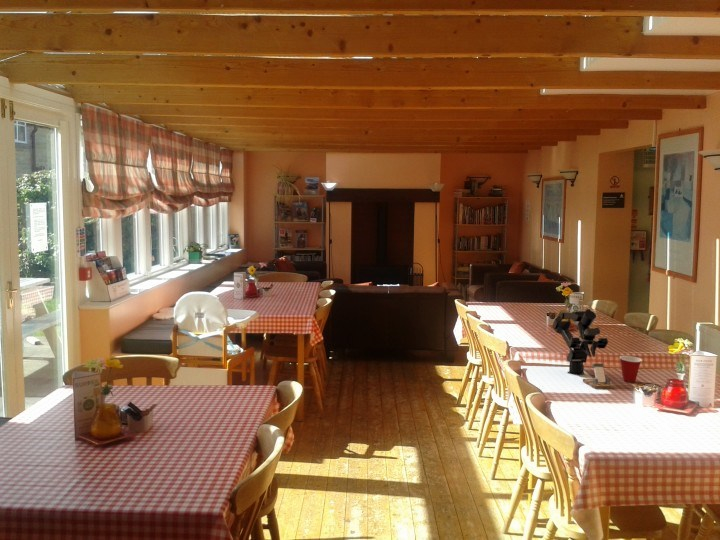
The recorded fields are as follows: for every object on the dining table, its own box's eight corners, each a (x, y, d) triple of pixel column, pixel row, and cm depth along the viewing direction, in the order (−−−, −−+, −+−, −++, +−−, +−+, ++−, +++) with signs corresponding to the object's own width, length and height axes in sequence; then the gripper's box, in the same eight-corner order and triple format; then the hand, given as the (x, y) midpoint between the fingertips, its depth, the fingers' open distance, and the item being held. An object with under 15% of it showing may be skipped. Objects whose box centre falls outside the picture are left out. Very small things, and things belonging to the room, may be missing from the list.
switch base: (582, 381, 357) (583, 373, 357) (600, 381, 358) (600, 373, 357) (594, 388, 342) (595, 380, 341) (613, 389, 342) (613, 380, 342)
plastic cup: (630, 384, 354) (631, 360, 353) (613, 379, 364) (614, 356, 363) (645, 382, 359) (647, 358, 358) (628, 378, 369) (629, 355, 368)
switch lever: (595, 383, 346) (592, 365, 351) (605, 383, 346) (601, 365, 351) (597, 381, 344) (593, 363, 349) (606, 382, 345) (602, 363, 350)
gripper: (571, 321, 361) (578, 347, 351) (607, 322, 362) (615, 347, 352) (565, 334, 369) (572, 359, 359) (600, 335, 370) (608, 360, 360)
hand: (592, 356), depth 357 cm, fingers closed
